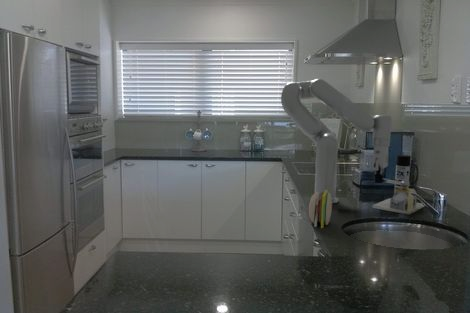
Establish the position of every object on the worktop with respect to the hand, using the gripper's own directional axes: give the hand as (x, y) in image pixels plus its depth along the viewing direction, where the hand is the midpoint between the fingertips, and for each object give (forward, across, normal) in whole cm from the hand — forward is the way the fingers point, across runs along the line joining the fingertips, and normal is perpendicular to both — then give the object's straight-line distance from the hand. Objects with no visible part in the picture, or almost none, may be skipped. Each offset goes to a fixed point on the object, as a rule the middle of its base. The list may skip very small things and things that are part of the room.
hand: (378, 182), depth 196 cm
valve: (+10, +1, -9) cm, 14 cm away
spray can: (+10, +31, -4) cm, 33 cm away
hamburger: (+10, -46, +10) cm, 48 cm away
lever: (0, +2, -5) cm, 6 cm away
